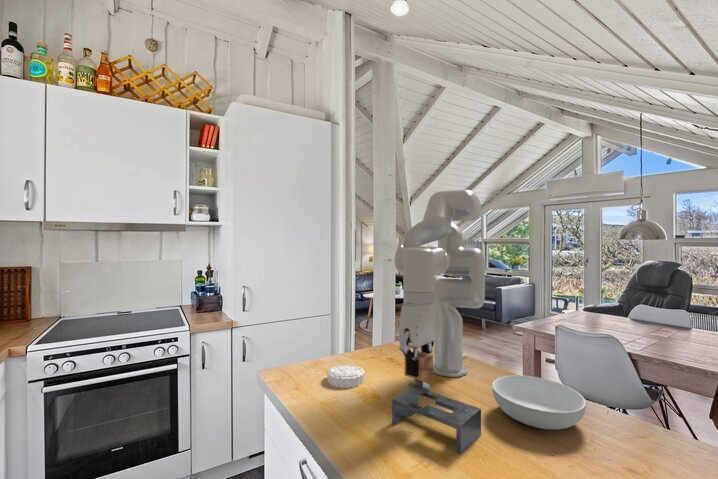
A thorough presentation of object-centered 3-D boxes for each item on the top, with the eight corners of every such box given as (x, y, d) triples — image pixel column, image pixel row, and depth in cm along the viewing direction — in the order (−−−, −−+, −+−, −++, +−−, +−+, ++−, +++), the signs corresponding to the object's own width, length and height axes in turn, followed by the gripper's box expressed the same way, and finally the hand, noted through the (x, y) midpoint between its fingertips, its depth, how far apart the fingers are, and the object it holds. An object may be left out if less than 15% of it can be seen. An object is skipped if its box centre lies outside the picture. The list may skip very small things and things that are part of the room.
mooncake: (371, 384, 107) (371, 373, 107) (335, 391, 102) (335, 379, 102) (354, 371, 118) (354, 361, 118) (322, 377, 113) (322, 366, 113)
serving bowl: (533, 449, 73) (533, 417, 74) (475, 404, 94) (475, 379, 94) (608, 434, 79) (608, 404, 79) (538, 395, 99) (538, 371, 99)
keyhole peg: (415, 383, 88) (415, 350, 88) (433, 389, 84) (433, 354, 85) (404, 389, 84) (403, 354, 84) (422, 396, 81) (422, 359, 81)
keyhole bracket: (392, 423, 84) (392, 398, 84) (415, 409, 91) (415, 386, 91) (460, 454, 71) (460, 425, 71) (481, 435, 79) (481, 408, 79)
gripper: (424, 292, 93) (424, 359, 93) (385, 300, 81) (385, 378, 81) (449, 295, 88) (449, 366, 88) (411, 304, 76) (411, 387, 76)
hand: (418, 371), depth 84 cm, fingers closed on keyhole peg, 5 cm apart
